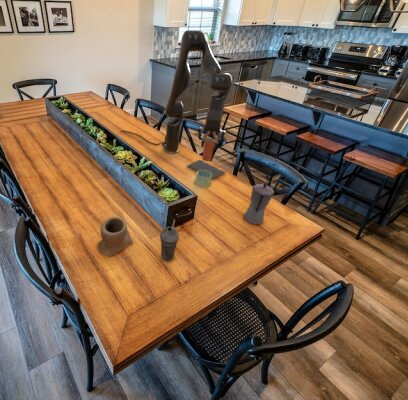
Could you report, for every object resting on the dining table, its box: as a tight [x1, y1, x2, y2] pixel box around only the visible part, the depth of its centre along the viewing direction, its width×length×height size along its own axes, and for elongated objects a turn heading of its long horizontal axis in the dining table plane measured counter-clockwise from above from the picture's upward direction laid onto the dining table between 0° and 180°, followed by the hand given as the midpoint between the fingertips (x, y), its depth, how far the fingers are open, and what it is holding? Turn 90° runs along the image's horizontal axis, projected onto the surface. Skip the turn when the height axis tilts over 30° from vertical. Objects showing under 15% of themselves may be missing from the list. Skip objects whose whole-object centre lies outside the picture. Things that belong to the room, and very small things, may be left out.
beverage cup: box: [159, 219, 180, 262], centre depth 104 cm, size 7×7×20 cm
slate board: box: [187, 159, 226, 181], centre depth 167 cm, size 20×12×2 cm, turn 44°
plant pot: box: [201, 137, 216, 162], centre depth 144 cm, size 6×6×11 cm
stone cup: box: [96, 216, 133, 257], centre depth 108 cm, size 15×12×15 cm
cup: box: [194, 170, 212, 188], centre depth 154 cm, size 9×9×6 cm
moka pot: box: [243, 183, 275, 225], centre depth 126 cm, size 10×15×20 cm, turn 161°
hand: (208, 147), depth 143 cm, fingers closed on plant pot, 6 cm apart
